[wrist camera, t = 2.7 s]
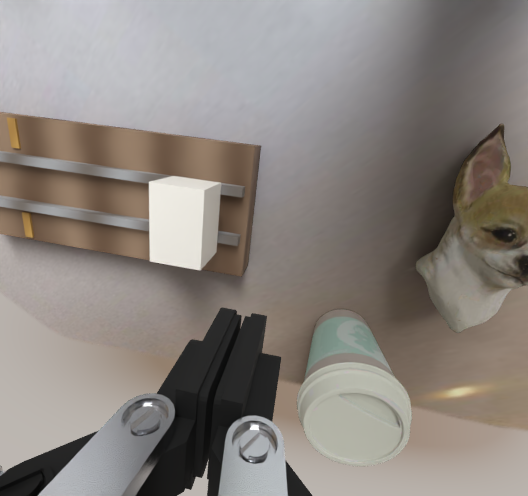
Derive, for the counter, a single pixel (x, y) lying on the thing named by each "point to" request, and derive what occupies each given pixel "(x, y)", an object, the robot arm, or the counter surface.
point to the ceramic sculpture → (480, 240)
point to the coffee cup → (352, 395)
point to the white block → (183, 221)
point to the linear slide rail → (116, 185)
